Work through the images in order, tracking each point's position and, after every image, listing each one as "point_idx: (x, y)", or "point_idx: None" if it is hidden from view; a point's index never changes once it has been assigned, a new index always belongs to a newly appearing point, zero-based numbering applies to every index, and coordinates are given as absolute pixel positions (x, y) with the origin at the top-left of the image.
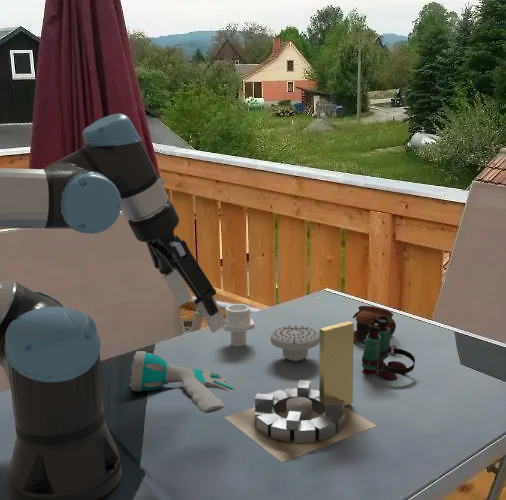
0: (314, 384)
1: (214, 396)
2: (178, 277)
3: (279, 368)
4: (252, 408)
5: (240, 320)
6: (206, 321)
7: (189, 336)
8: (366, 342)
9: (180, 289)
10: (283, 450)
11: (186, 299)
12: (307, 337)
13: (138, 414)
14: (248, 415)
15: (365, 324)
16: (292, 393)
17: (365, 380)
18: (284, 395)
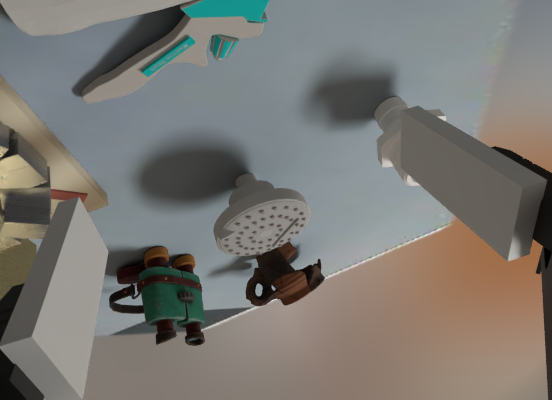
0: (153, 198)
1: (89, 21)
2: (477, 221)
3: (243, 158)
4: (9, 100)
5: (399, 155)
6: (67, 229)
7: (500, 20)
8: (156, 311)
9: (439, 173)
10: None
11: (406, 151)
12: (235, 246)
13: None
14: None
15: (280, 277)
16: (20, 197)
17: (147, 249)
18: (9, 185)
